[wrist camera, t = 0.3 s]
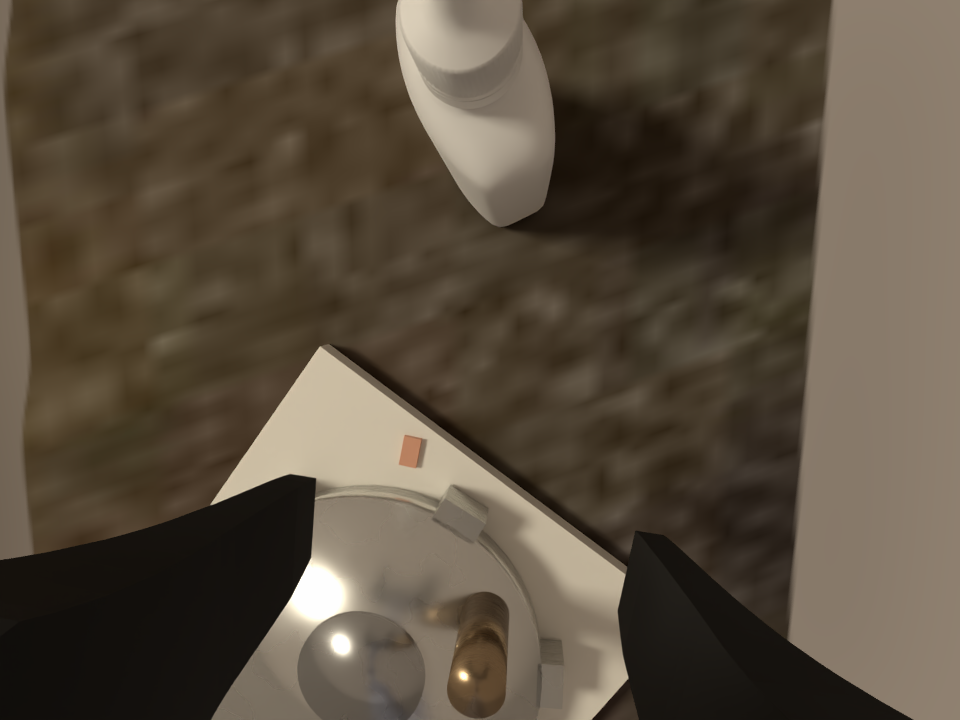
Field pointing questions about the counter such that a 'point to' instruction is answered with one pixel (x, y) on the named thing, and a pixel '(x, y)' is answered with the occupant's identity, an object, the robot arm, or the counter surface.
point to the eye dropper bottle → (481, 99)
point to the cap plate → (429, 471)
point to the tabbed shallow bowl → (401, 621)
